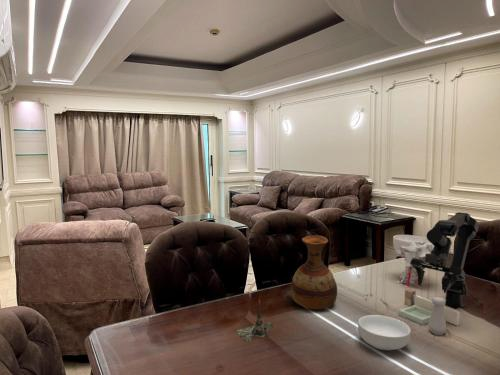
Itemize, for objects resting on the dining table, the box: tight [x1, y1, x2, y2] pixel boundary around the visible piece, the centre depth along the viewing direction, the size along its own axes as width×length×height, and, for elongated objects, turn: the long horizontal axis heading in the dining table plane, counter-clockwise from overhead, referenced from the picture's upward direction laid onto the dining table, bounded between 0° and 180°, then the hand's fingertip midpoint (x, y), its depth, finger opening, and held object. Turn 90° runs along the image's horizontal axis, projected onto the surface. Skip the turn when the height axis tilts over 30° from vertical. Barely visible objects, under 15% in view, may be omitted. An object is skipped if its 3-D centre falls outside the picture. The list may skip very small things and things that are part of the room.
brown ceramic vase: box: [290, 234, 338, 310], centre depth 158 cm, size 20×20×30 cm
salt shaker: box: [428, 296, 448, 336], centre depth 134 cm, size 6×6×13 cm
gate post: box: [403, 288, 417, 307], centre depth 160 cm, size 3×3×7 cm
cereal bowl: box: [357, 314, 412, 351], centre depth 124 cm, size 17×17×7 cm
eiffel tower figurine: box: [235, 297, 274, 343], centre depth 132 cm, size 15×10×13 cm
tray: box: [398, 305, 432, 326], centre depth 147 cm, size 10×10×2 cm
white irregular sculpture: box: [392, 234, 434, 287], centre depth 187 cm, size 25×19×23 cm
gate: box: [412, 294, 461, 326], centre depth 149 cm, size 2×20×5 cm, turn 27°
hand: (431, 289), depth 142 cm, fingers open, 9 cm apart
